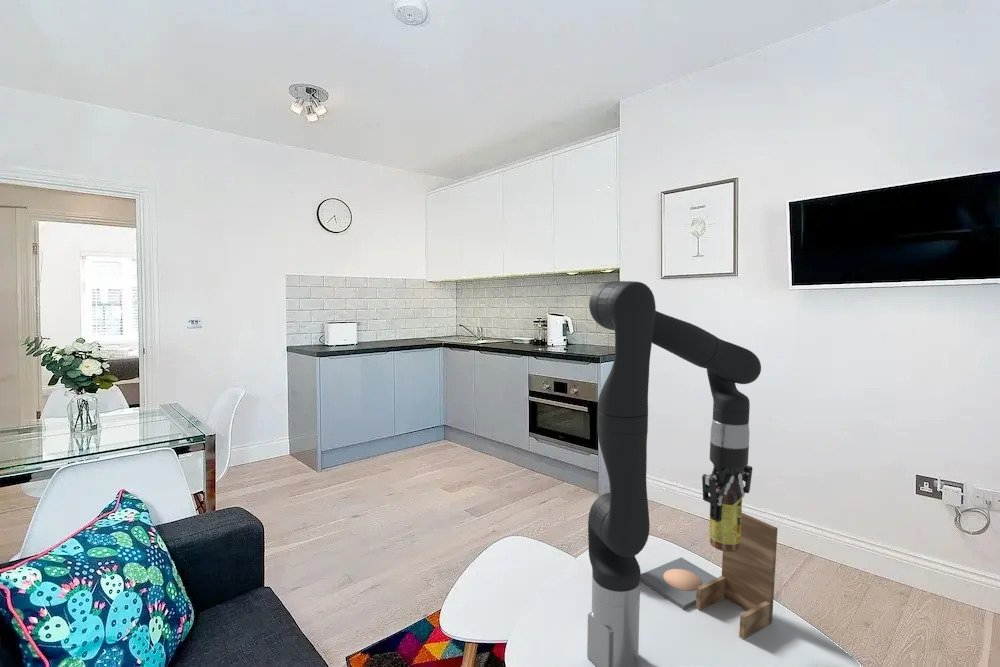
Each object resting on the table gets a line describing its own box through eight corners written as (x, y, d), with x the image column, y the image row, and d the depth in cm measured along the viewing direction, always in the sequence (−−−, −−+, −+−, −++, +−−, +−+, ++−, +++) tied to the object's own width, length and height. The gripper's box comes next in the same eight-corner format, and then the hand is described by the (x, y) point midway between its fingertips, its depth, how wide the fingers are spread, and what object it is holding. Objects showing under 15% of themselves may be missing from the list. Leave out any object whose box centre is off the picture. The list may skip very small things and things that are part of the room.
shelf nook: (743, 639, 107) (748, 540, 104) (695, 607, 117) (699, 517, 115) (772, 622, 112) (777, 528, 110) (723, 593, 122) (728, 506, 120)
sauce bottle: (743, 555, 107) (748, 463, 105) (712, 552, 108) (716, 461, 106) (735, 539, 113) (739, 453, 111) (705, 536, 114) (709, 451, 112)
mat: (683, 609, 117) (683, 605, 116) (638, 578, 129) (638, 574, 128) (727, 587, 125) (727, 583, 124) (681, 560, 137) (681, 556, 136)
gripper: (723, 452, 101) (719, 532, 103) (766, 440, 108) (762, 515, 110) (692, 442, 108) (689, 517, 109) (734, 431, 115) (731, 502, 117)
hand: (725, 516), depth 110 cm, fingers closed on sauce bottle, 6 cm apart
